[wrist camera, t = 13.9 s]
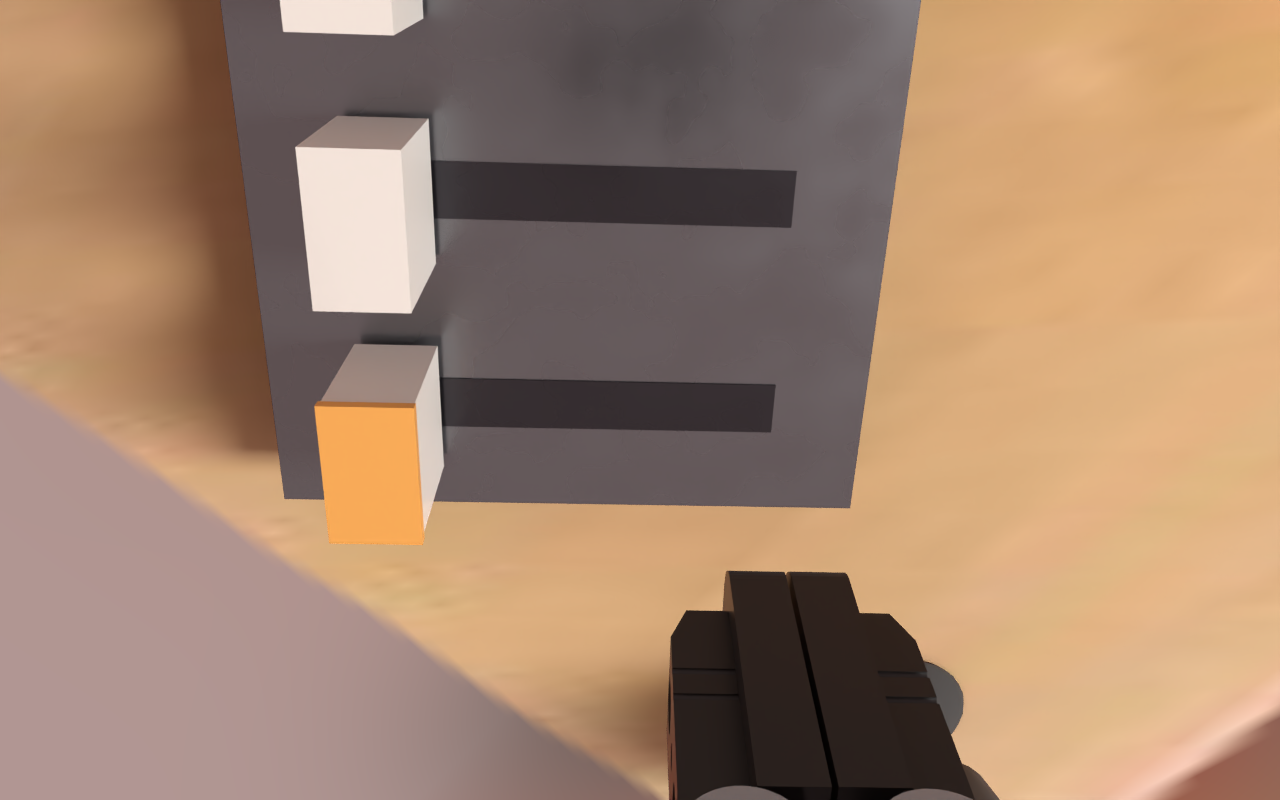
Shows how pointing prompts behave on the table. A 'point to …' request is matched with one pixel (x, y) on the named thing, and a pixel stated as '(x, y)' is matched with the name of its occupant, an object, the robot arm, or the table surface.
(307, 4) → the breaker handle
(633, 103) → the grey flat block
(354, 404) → the block
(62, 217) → the table surface
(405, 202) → the handle
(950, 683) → the sundae
